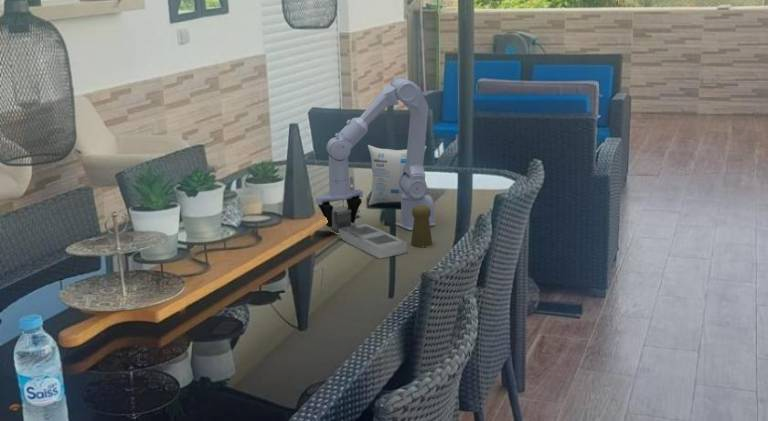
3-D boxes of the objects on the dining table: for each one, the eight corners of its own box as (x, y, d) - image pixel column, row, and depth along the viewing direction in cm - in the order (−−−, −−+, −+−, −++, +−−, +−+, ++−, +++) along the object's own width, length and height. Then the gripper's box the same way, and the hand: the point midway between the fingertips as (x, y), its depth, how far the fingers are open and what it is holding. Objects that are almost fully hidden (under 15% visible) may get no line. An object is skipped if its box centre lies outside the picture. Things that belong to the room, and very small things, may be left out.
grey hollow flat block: (365, 233, 266) (365, 223, 265) (407, 252, 248) (407, 242, 248) (338, 238, 262) (338, 228, 261) (379, 258, 244) (379, 248, 243)
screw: (363, 216, 283) (353, 220, 280) (351, 213, 286) (341, 217, 283) (362, 175, 280) (352, 178, 276) (350, 173, 283) (340, 176, 279)
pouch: (423, 211, 288) (423, 149, 282) (365, 208, 293) (364, 147, 287) (429, 204, 295) (428, 144, 289) (372, 201, 300) (371, 142, 295)
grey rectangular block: (343, 229, 271) (343, 205, 269) (352, 233, 267) (351, 209, 265) (329, 232, 268) (328, 208, 266) (337, 236, 264) (337, 212, 262)
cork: (430, 247, 252) (430, 209, 249) (409, 246, 253) (408, 208, 250) (433, 241, 258) (433, 203, 255) (412, 240, 259) (412, 203, 256)
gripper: (353, 173, 270) (354, 217, 274) (310, 180, 263) (312, 225, 266) (365, 177, 264) (367, 222, 268) (322, 184, 257) (323, 230, 261)
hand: (340, 224), depth 267 cm, fingers open, 7 cm apart
